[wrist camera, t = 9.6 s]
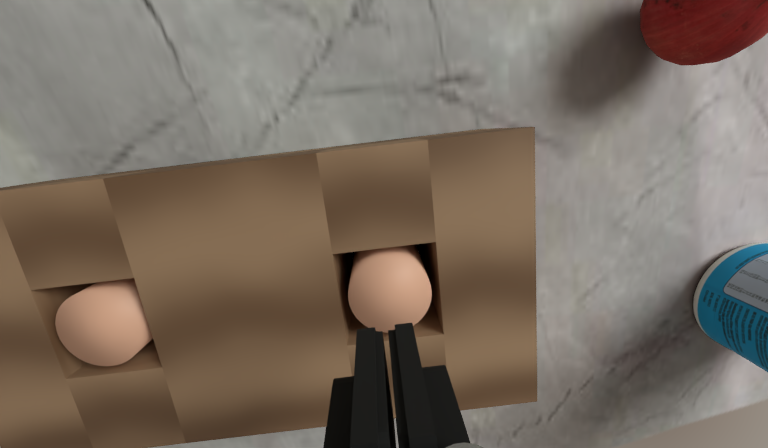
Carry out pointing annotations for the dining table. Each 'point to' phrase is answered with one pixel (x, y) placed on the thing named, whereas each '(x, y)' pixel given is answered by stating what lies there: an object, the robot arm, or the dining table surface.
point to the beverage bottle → (737, 302)
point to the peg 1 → (104, 323)
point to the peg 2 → (389, 287)
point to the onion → (702, 28)
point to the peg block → (264, 285)
